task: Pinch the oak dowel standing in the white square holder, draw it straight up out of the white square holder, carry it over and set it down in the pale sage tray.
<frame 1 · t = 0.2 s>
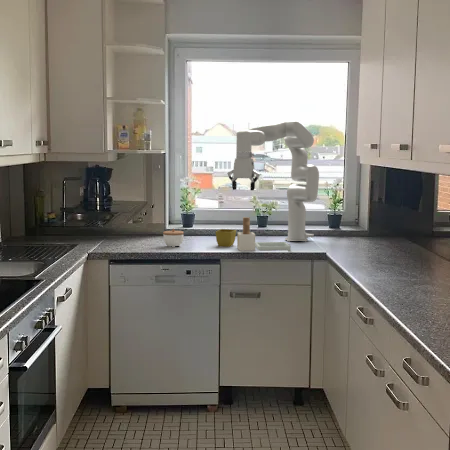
hand: (243, 189, 321), 31 cm above the worktop, tool pointing down, fingers open, 9 cm apart
lidded jar: (173, 246, 336), on the worktop
flower pot: (225, 248, 333), on the worktop
white square holder: (246, 251, 322), on the worktop
tray: (272, 249, 327), on the worktop
dowel: (246, 249, 322), point 1 cm above the worktop, touching white square holder
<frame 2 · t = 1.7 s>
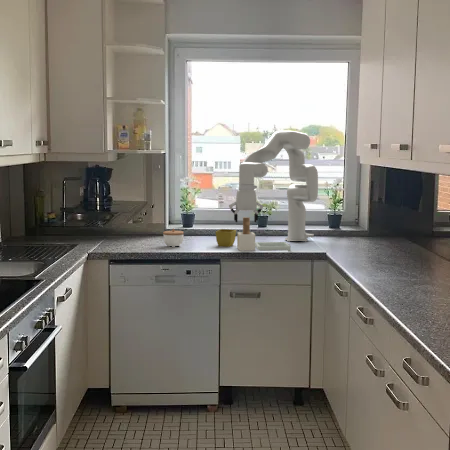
hand: (245, 222, 320), 15 cm above the worktop, tool pointing down, fingers open, 9 cm apart
nothing on the worktop moved.
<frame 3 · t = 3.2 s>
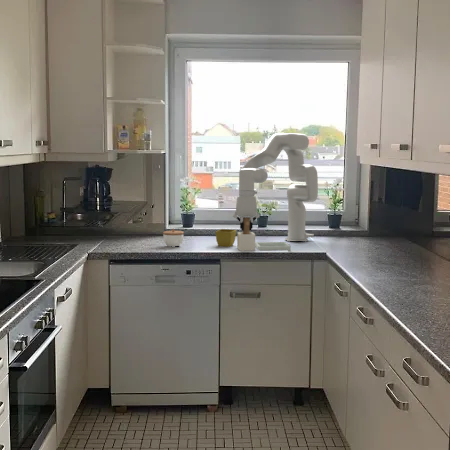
hand: (246, 229, 321), 11 cm above the worktop, tool pointing down, fingers closed on dowel, 3 cm apart
dowel: (246, 249, 322), point 1 cm above the worktop, touching white square holder, gripper
everything else where it was.
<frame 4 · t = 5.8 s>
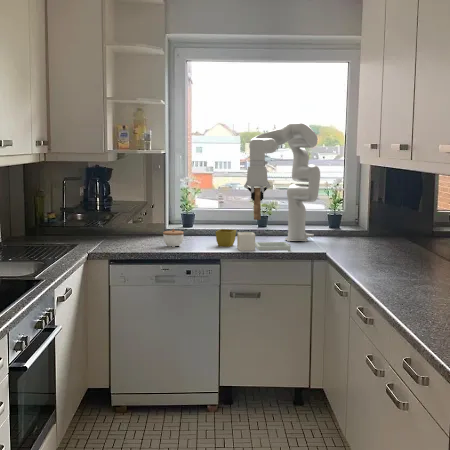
hand: (257, 200, 321), 26 cm above the worktop, tool pointing down, fingers closed on dowel, 3 cm apart
dowel: (257, 219, 322), point 16 cm above the worktop, touching gripper
everything else where it was.
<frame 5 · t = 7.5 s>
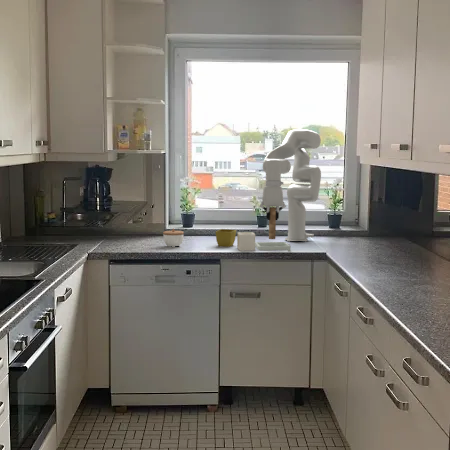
hand: (272, 219, 325), 15 cm above the worktop, tool pointing down, fingers closed on dowel, 3 cm apart
dowel: (272, 238, 326), point 6 cm above the worktop, touching gripper
everything else where it was.
when the fingers open (12 cm above the worktop, at t = 8.6 s): dowel drops 1 cm, resting on tray.
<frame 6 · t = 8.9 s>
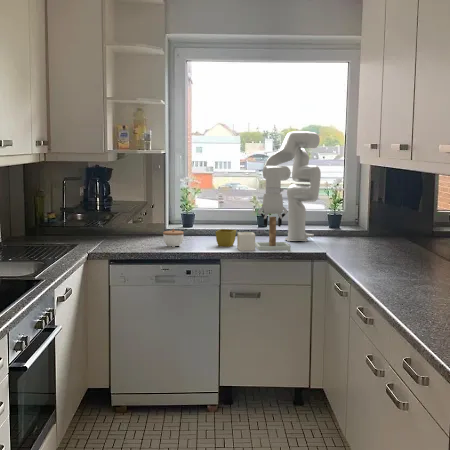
hand: (272, 226, 325), 12 cm above the worktop, tool pointing down, fingers open, 6 cm apart
dowel: (272, 248, 327), point 1 cm above the worktop, touching tray
everything else where it was.
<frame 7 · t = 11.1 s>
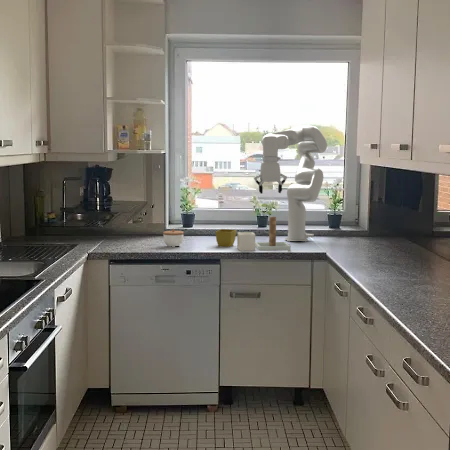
hand: (270, 193, 330), 28 cm above the worktop, tool pointing down, fingers open, 9 cm apart
nothing on the worktop moved.
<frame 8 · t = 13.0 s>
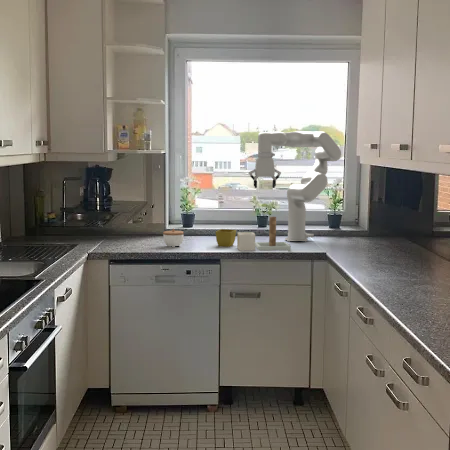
hand: (264, 187, 342), 30 cm above the worktop, tool pointing down, fingers open, 9 cm apart
nothing on the worktop moved.
at the end: dowel inside the target area on the tray (0.0 cm from its centre), point 0.8 cm above the tray's base; the gripper is holding nothing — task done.
